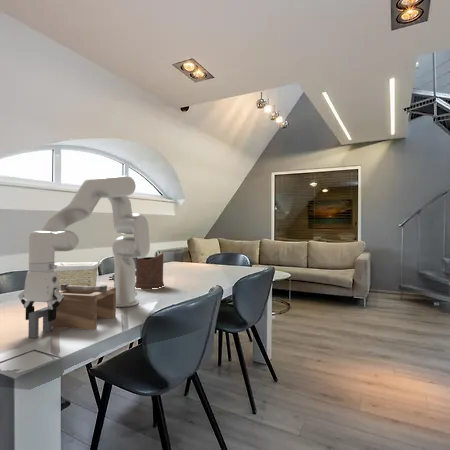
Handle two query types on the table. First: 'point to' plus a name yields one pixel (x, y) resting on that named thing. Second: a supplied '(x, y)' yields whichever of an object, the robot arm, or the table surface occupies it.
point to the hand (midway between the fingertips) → (40, 319)
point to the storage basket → (77, 273)
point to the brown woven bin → (149, 272)
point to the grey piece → (35, 322)
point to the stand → (84, 306)
